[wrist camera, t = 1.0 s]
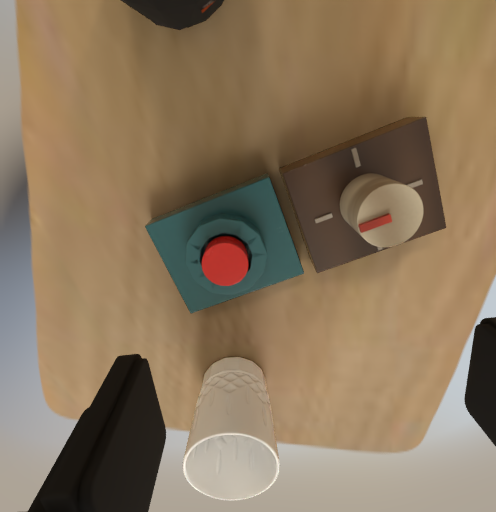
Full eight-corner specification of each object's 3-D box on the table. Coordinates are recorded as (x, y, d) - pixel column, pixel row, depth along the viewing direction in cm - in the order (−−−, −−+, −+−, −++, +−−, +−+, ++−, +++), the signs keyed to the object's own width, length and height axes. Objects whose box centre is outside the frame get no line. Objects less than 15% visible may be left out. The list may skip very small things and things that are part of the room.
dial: (388, 164, 26) (419, 173, 21) (401, 217, 27) (431, 235, 23) (332, 185, 26) (350, 199, 22) (347, 236, 28) (367, 258, 23)
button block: (267, 172, 29) (271, 180, 25) (300, 263, 32) (308, 282, 28) (151, 219, 30) (138, 232, 26) (193, 302, 33) (187, 324, 30)
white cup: (222, 418, 39) (215, 512, 30) (183, 370, 36) (163, 456, 27) (283, 391, 37) (296, 480, 28) (248, 339, 35) (249, 418, 26)
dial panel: (407, 116, 27) (427, 116, 24) (428, 218, 30) (447, 228, 27) (278, 168, 29) (282, 173, 26) (310, 260, 32) (317, 274, 29)
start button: (238, 229, 27) (238, 236, 25) (254, 268, 28) (255, 277, 26) (196, 245, 27) (193, 252, 26) (214, 282, 28) (212, 292, 27)
